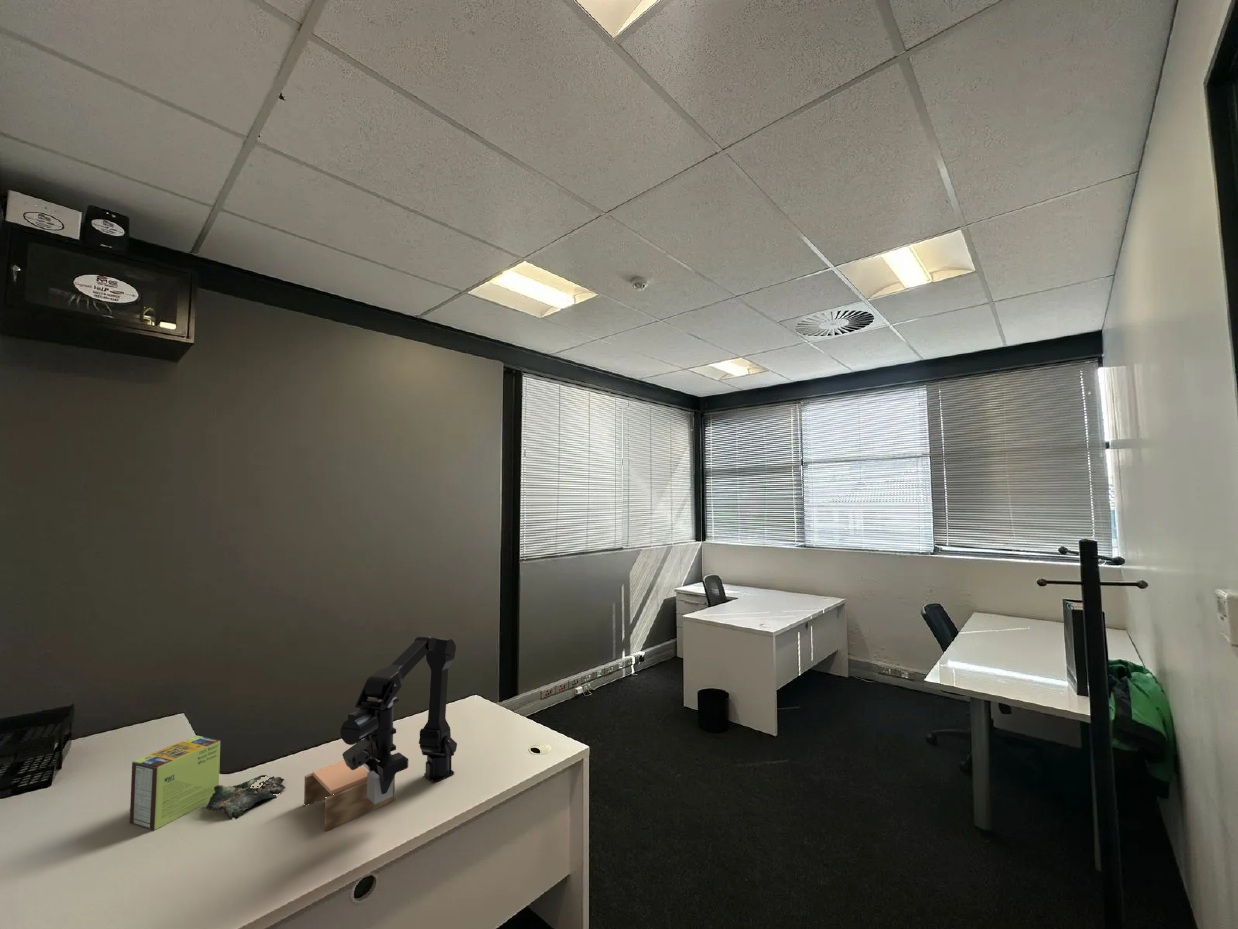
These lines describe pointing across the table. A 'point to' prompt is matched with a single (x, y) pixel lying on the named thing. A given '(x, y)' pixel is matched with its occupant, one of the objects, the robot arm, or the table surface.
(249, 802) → the decorative rock
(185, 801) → the protein box
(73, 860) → the table surface
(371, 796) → the stone
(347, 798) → the trapdoor frame
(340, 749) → the table surface
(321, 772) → the trapdoor
